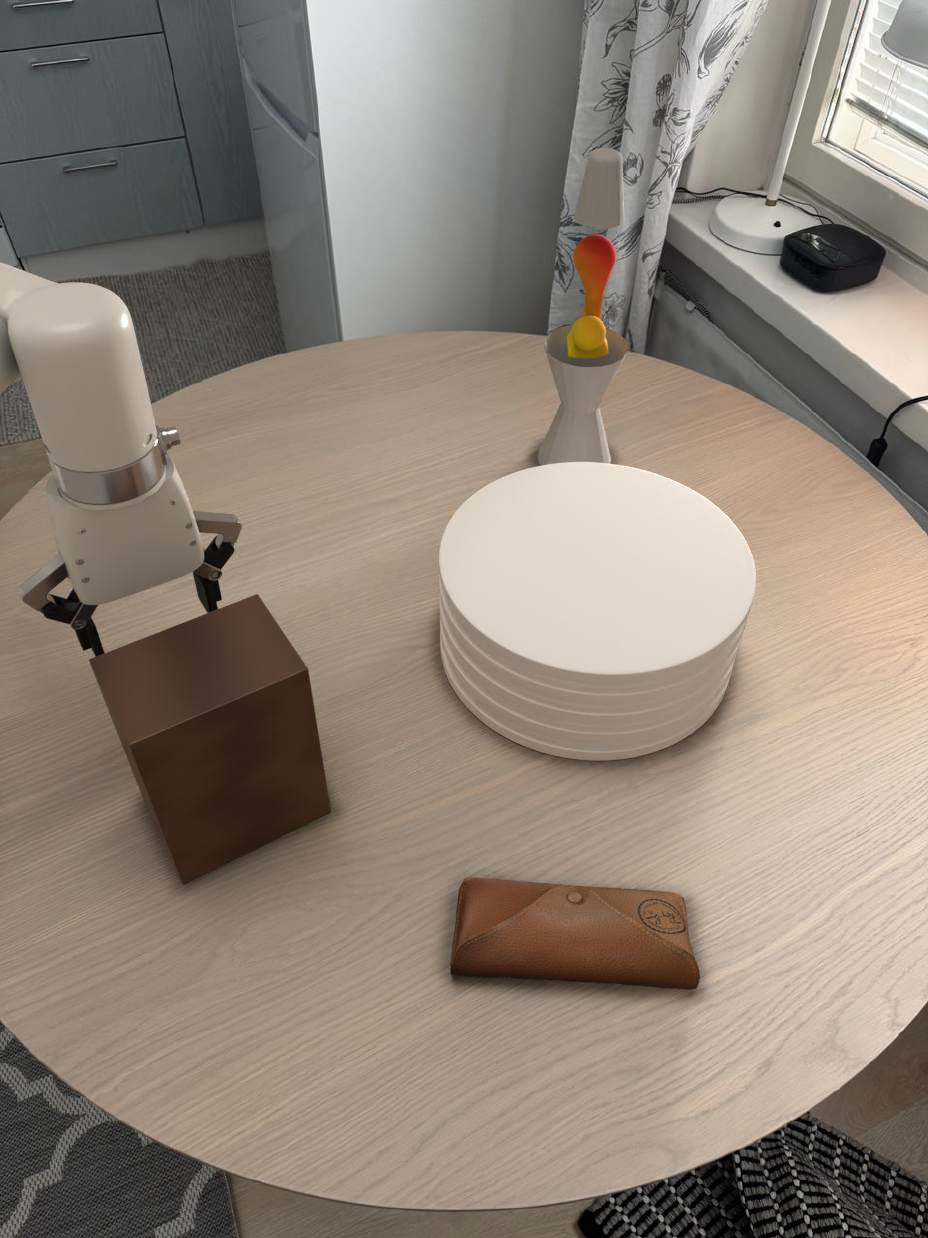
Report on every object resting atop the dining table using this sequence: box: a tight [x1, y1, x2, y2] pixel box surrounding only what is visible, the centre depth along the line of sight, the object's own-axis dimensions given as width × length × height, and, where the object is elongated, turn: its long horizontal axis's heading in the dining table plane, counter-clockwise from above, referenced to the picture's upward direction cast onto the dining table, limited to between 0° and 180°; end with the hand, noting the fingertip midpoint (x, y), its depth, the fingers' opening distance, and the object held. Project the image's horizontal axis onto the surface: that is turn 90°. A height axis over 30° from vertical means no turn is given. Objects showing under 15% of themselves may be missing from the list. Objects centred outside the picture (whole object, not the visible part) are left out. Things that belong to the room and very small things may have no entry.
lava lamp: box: [537, 147, 629, 466], centre depth 105 cm, size 9×9×35 cm
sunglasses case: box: [449, 877, 701, 990], centre depth 74 cm, size 18×7×7 cm
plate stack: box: [438, 462, 757, 762], centre depth 93 cm, size 28×28×12 cm
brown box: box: [88, 593, 332, 885], centre depth 77 cm, size 13×10×18 cm
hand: (154, 628), depth 83 cm, fingers open, 9 cm apart
